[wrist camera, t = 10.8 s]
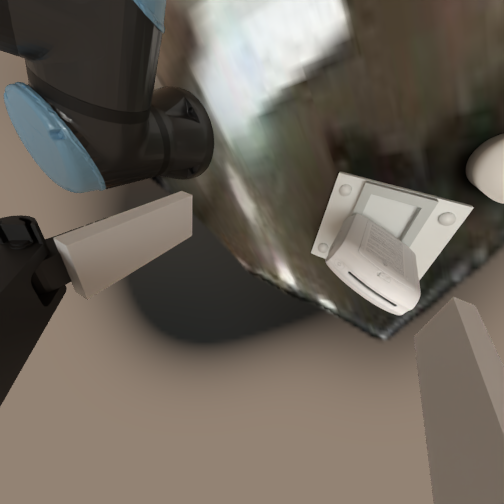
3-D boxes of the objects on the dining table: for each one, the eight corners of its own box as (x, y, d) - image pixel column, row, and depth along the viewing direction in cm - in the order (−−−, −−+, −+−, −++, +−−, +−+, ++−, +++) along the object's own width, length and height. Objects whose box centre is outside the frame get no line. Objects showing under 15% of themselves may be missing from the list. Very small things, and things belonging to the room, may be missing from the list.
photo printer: (335, 229, 34) (313, 270, 25) (355, 207, 31) (339, 244, 22) (394, 271, 33) (395, 332, 23) (420, 252, 30) (433, 311, 21)
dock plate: (312, 250, 40) (308, 257, 39) (340, 171, 33) (337, 174, 31) (410, 288, 35) (410, 298, 33) (471, 205, 27) (477, 211, 25)
